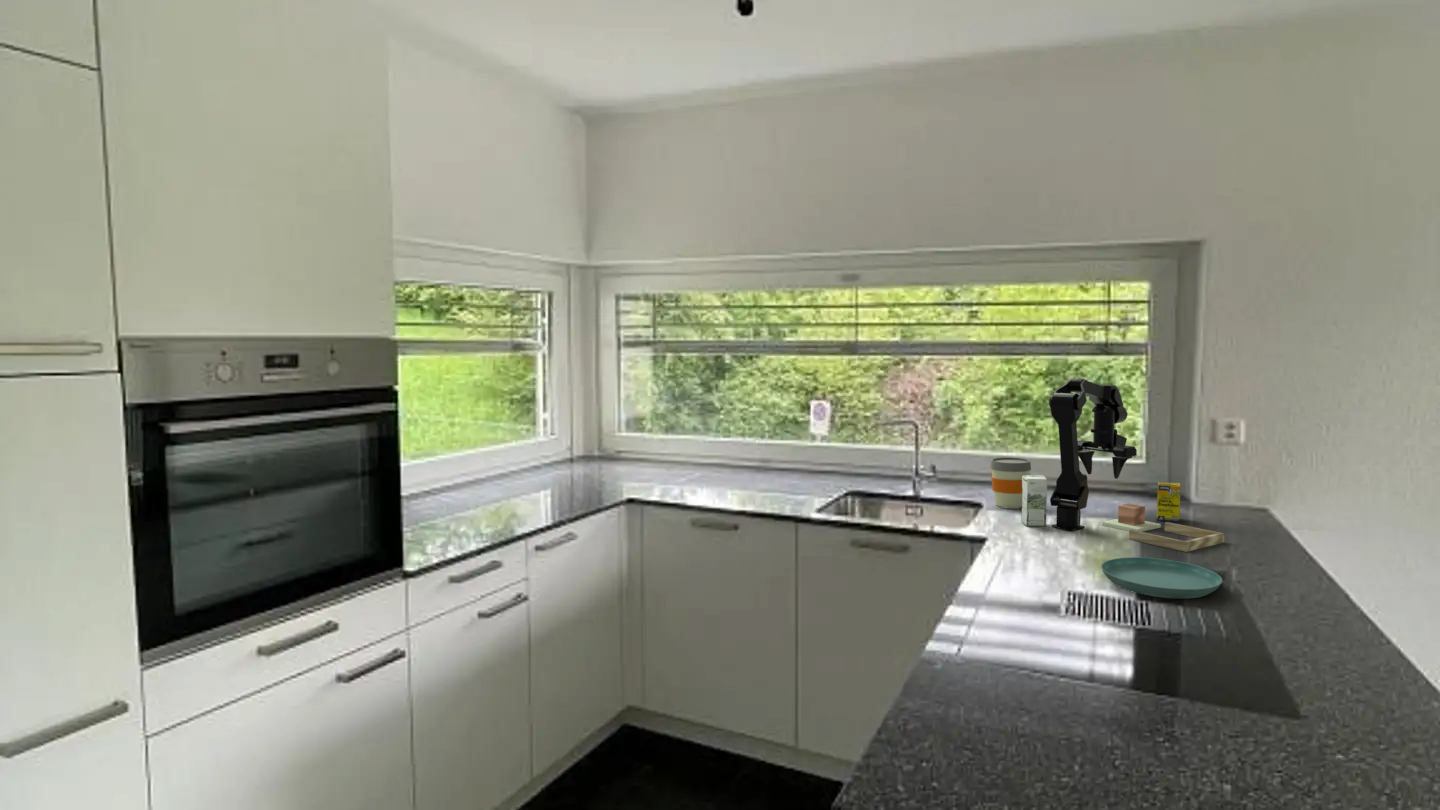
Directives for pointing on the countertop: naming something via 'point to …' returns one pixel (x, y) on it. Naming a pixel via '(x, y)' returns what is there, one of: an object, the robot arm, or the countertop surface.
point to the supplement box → (1168, 502)
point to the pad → (1127, 527)
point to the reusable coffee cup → (1009, 480)
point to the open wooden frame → (1201, 541)
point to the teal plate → (1161, 577)
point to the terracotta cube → (1131, 514)
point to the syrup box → (1034, 500)
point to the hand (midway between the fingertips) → (1102, 476)
